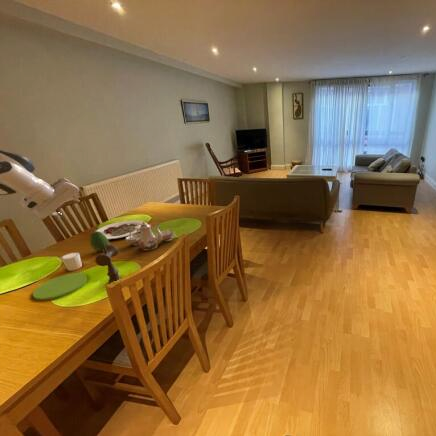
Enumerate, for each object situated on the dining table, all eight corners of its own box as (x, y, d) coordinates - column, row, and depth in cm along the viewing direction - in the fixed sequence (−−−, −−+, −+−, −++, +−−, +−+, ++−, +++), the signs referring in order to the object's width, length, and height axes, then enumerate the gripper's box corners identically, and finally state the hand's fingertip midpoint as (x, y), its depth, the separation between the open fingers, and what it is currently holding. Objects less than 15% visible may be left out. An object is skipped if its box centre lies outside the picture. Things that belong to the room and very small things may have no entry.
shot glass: (86, 265, 123) (81, 253, 120) (70, 272, 117) (65, 260, 115) (79, 262, 126) (74, 251, 123) (63, 269, 120) (57, 257, 117)
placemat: (35, 306, 96) (34, 304, 95) (31, 287, 107) (30, 286, 106) (91, 284, 108) (90, 283, 108) (82, 270, 119) (81, 268, 119)
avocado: (97, 248, 140) (90, 229, 135) (112, 246, 142) (107, 228, 137) (91, 255, 133) (84, 235, 128) (108, 252, 135) (101, 233, 130)
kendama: (126, 274, 116) (114, 237, 108) (119, 286, 107) (106, 246, 100) (112, 276, 114) (99, 238, 107) (103, 288, 106) (89, 249, 98)
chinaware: (177, 237, 156) (172, 213, 151) (176, 246, 141) (170, 219, 136) (127, 245, 146) (120, 219, 141) (120, 256, 131) (112, 227, 126)
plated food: (147, 234, 157) (146, 229, 155) (90, 245, 143) (88, 240, 142) (147, 219, 181) (146, 215, 180) (98, 228, 167) (96, 223, 166)
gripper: (59, 173, 111) (85, 191, 122) (16, 204, 104) (48, 220, 115) (65, 178, 108) (91, 196, 120) (21, 211, 101) (53, 226, 113)
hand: (69, 208), depth 118 cm, fingers open, 8 cm apart
